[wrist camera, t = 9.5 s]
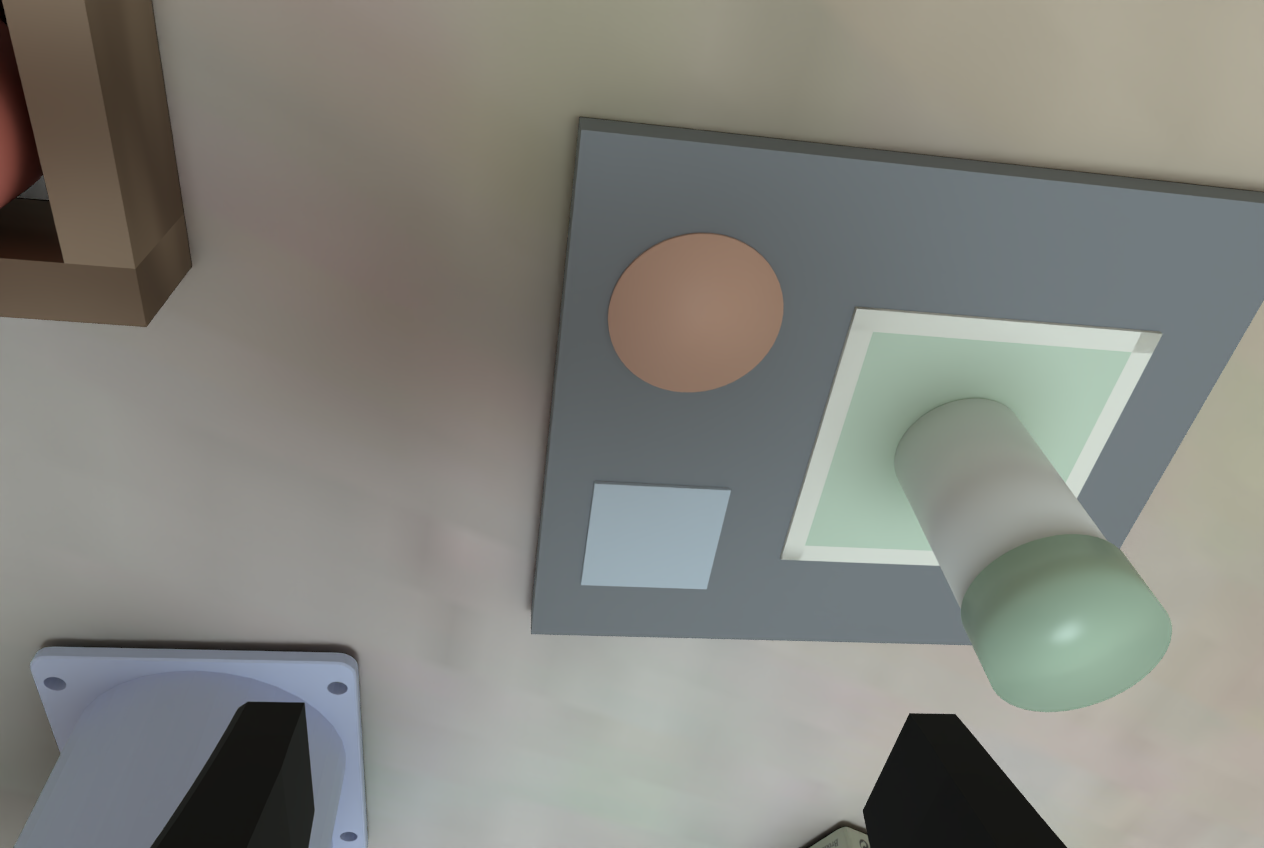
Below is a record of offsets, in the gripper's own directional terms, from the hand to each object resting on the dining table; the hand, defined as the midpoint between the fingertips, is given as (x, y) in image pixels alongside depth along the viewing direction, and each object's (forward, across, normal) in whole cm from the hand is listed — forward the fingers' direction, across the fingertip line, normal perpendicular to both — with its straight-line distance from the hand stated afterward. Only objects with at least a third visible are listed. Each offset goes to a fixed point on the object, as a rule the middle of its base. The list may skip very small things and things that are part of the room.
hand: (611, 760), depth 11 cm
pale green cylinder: (+9, -9, +2) cm, 13 cm away
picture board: (+10, -7, +2) cm, 13 cm away
